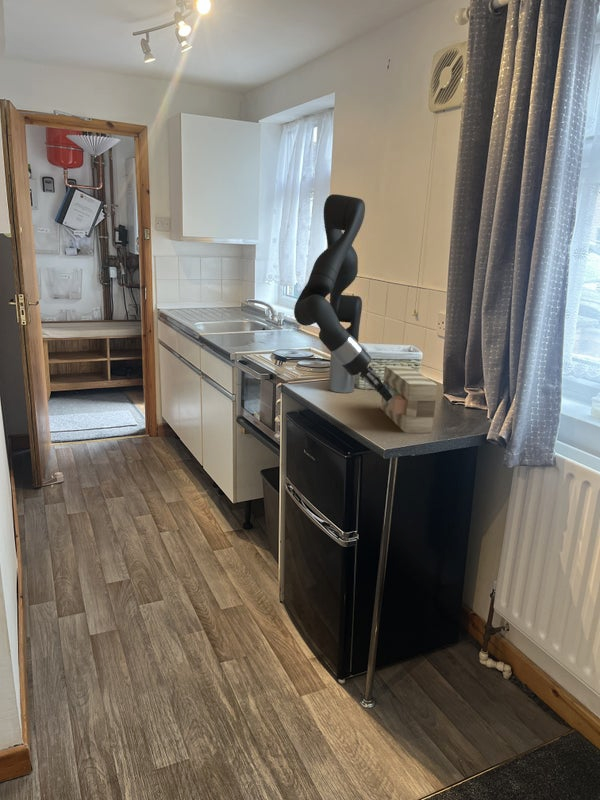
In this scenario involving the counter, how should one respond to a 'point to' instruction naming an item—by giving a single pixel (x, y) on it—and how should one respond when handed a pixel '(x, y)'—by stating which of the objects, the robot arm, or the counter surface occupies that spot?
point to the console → (411, 399)
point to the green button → (392, 393)
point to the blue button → (386, 386)
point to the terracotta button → (398, 404)
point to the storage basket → (389, 359)
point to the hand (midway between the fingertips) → (389, 398)
